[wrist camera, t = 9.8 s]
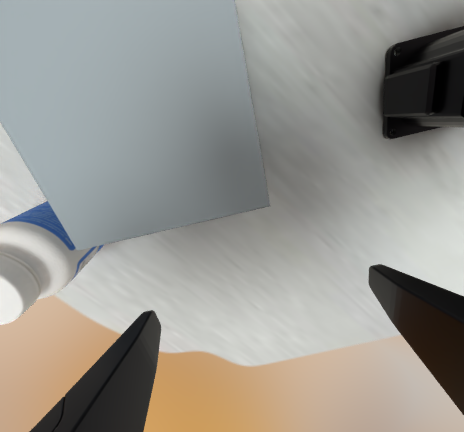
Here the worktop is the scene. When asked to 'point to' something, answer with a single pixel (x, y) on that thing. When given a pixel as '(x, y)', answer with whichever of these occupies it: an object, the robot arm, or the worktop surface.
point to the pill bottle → (35, 260)
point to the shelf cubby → (131, 112)
